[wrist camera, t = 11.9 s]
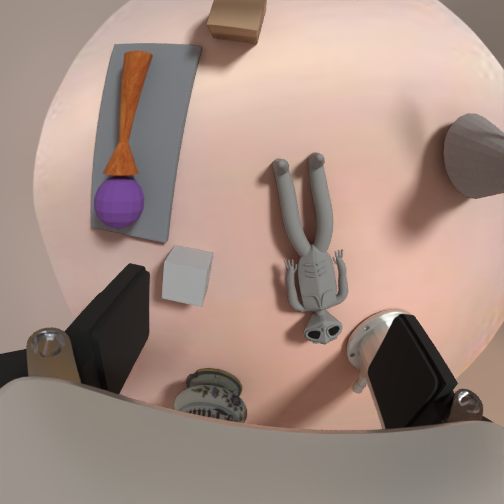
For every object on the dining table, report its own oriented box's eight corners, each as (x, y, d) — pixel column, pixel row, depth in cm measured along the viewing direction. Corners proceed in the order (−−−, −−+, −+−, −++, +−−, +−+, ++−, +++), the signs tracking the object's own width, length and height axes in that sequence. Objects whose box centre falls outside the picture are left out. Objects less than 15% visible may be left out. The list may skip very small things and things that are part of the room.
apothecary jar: (207, 352, 43) (188, 451, 27) (262, 386, 47) (263, 478, 30) (167, 383, 47) (144, 467, 31) (219, 412, 50) (209, 492, 34)
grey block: (208, 285, 39) (201, 306, 34) (172, 278, 38) (161, 298, 34) (213, 252, 37) (207, 270, 32) (175, 244, 36) (164, 261, 32)
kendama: (161, 47, 22) (137, 237, 29) (167, 62, 28) (146, 222, 34) (106, 48, 21) (86, 233, 27) (120, 62, 26) (102, 219, 33)
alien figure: (338, 151, 27) (354, 344, 36) (327, 149, 32) (346, 324, 41) (261, 163, 28) (297, 355, 37) (261, 160, 33) (294, 334, 42)
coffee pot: (487, 193, 32) (556, 228, 18) (432, 193, 32) (507, 234, 19) (481, 56, 23) (552, 48, 9) (422, 38, 24) (495, 12, 10)
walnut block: (257, 44, 26) (257, 30, 22) (213, 38, 26) (206, 24, 21) (266, 10, 24) (267, -8, 20) (223, 4, 24) (218, -14, 19)
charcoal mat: (168, 239, 36) (165, 242, 35) (94, 224, 35) (90, 227, 34) (202, 48, 26) (200, 45, 25) (117, 46, 26) (114, 44, 25)
